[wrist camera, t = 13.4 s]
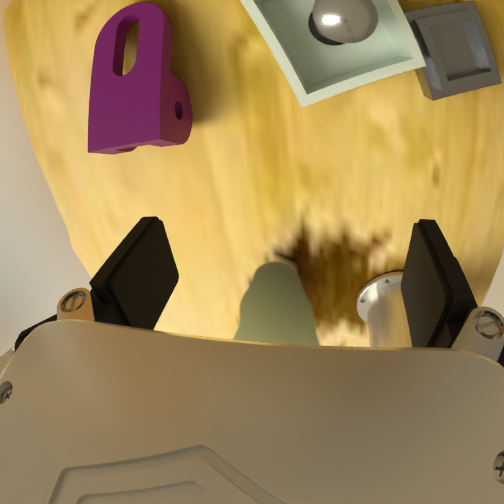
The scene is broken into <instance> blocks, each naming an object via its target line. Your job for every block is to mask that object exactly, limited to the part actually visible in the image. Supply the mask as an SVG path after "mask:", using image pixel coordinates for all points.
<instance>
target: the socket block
mask: <svg viewBox="0 0 504 504" xmlns="http://www.w3.org/2000/svg"><path fill="white" fill-rule="evenodd" d="M404 15H405V17H406V19H407V21H408V23H409V25H410V28H411V30H412V32H413V34H414V37H415V39H416V41H417V44H418V46H419V48H420V51H421V53H422V56H423V59H424V61H425V64H426V66H424V67H421V68H417V69H415V71H416V74H417V77H418V80H419V82H420V85H421V88H422V91H423V94H424V96H426V97H427V98H429V99H431V100H433V101H434V100H437V99H441V98H445V97H448V96H452V95H456V94H459V93H463V92H467V91H471V90H475V89H479V88H484V87H488V86H492V85H497V84H501V83H502V82H501V78H500V75H499V71H498V67H497V64H496V60H495V57H494V54H493V50H492V47H491V44H490V41H489V38H488V35H487V33H486V30H485V27H484V24H483V22H482V19H481V17H480V14H479V12H478V9H477V7H476V5H475V2H474V1H466V2H459V3H452V4H445V5H439V6H434V7H429V8H423V9H419V10H414V11H410V12H405V13H404Z"/></svg>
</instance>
